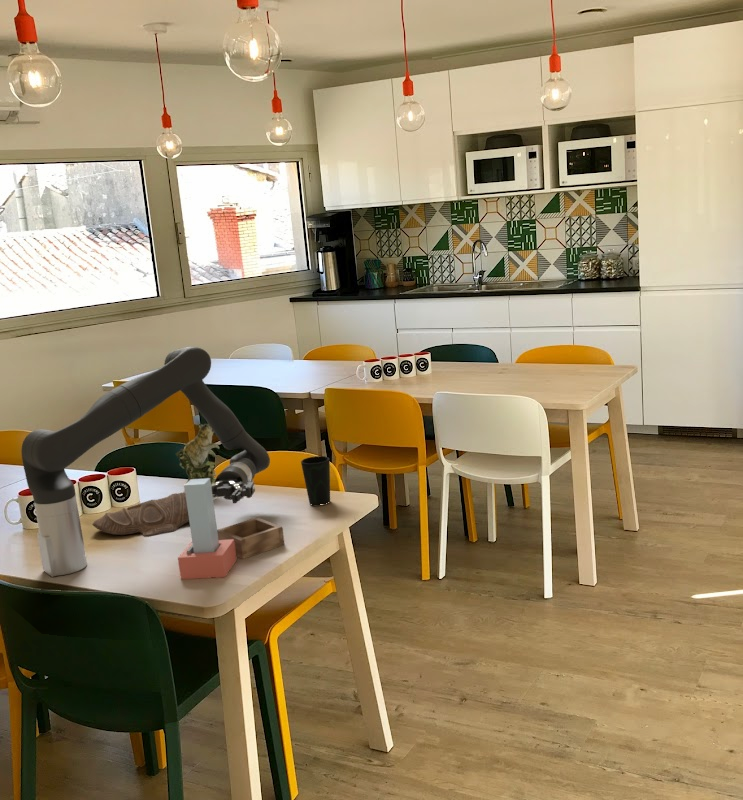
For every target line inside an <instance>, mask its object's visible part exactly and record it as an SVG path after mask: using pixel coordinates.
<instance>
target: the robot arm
mask: <svg viewBox="0 0 743 800" xmlns="http://www.w3.org/2000/svg"><path fill="white" fill-rule="evenodd" d="M211 367H212V358H211V357H210V354H209V353H208V352H207V351H206V350H205V349H204V348H201V347H199V346H197V347H196V346H187V347H181V348H178V349H174V350H172V351H170V352H168V354H167V355H166V356H165V359H164V363H163V366H161V367H160V368H159V367H158V368H157V369H156V370H153V371H150V372H148V373H145V374H142V375H140V376H137V377H135V378H133V379H130V380H128V381H126V382H124V383H121V384H119V385H117V386H115V387H114V388H113V389H111V390H109V391H108V392H106V393H104V394H103V395H102V396H101V397H99V398H98V399H97V400H96V401H95V402H94V404H92V405H91V407H90V408H89V410H88V411H87V412H86V413H85V414H84V415H82V416H81V417H80V418H79V419H78V420H75V421H74V422H72V423H70V424H69V425H67V426H64V427H62V428H60V429H58V430H55V431H54V430H49V429H43V428H41V429H36V430H32V431H31V432H29V433H28V434H27V435H26V436H25V437H24V439H23V441H22V445H21V450H20V451H21V461H22V466H23V470H24V474H25V478H26V479H25V480H26V483H27V487H28V489H29V491H30V493H31V495H32V499H33V504H34V509H35V515H36V521H37V522H36V523H37V526H38V527H37V528H38V531H37V532H36V537H37V543H38V547H39V554H40V559H41V565H42V570H43V572H44V571H45V572H44V573H46V574H47V575H49V576H51V578H52V577H57V576H63V575H70V574H74V573H77V572H79V571H81V570H83V569H84V568H86V567H87V565H88V561H87V554H86V550H85V542H84V537H83V530H82V524H81V519H80V511H79V507H78V501H77V500H78V499H77V494H76V490H75V489H76V488H75V485H74V483H73V481H72V480H71V479H70V478H69V476H68V475H67V473H66V470H65V469H66V468H67V467H69V466H70V465H72V464H73V463H74V462H75V461H77V460H78V459H79V458H81V456H83V455H84V454H85V453H87V452H88V451H89V450H91V449H92V448H94V446H96V445H97V444H99V443H100V442H103V441H105V440H106V439H107V438H109V437H111V436H113V435H114V434H116V433H117V432H119V431H121V430H122V429H124V428H126V427H127V426H129V425H131V424H132V423H134V422H136V421H137V420H138V419H141V417H143V416H144V415H146V414H148V413H149V412H150V411H152V410H153V409H155V408H156V407H157V406H159V405H160V404H162V403H163V402H164V401H166V400H167V399H169V398H170V397H171V396H172V395H174V394H177V393H179V392H182V393H183V394H184V396H185V397H186V398H187V399H188V401H190V403H191V404H192V405H193V406H194V407H195V409H196V410H197V411H198V412H199V413H200V414H201V416H202V417H203V418H204V420H205V421H206V422H207V423H206V424H209V425H210V427H211V428H212V430H213V431H214V432H213V434H214V435H215V436H216V438H218V441H219V442H220V444H221V445H222V446H223V447H224V449H225V450H228V451H231V450H238V449H242V450H243V451H241V452H239V453H236V454H235V455H233V456H232V457H230V459H229V464H228V465H226V466H225V467H224V469H222V471H220V473H219V474H218V475H216V476H215V478H216V480H215V482H214V484H212V485H211V488H212V496H213V501H215V500H217V499H222V498H223V499H225V500H230V501H231V500H232V504H237V503H238V502H240V501H241V500H243V499H244V497H246V498H247V499H250V498H252V497H253V495H254V494H255V492H256V488H255V487H256V486H255V481H254V480H253V479H254V478H255V476H256V475H257V474H259V473H261V472H263V471H264V470H266V469H267V468H269V466H270V463H271V458H270V455H269V453H268V451H267V450H266V449H265V448H264V447H263V445H261V444H260V443H259V442H258V441H257V440H256V439H254V438H253V437H252V436H251V435H250V434H249V433H248V432H247V431H246V430H245V428H244V427H243V425H242V424H241V422H240V421H239V419H238V418H237V416H236V415H235V414H234V412H233V411H232V410H231V408H229V406H227V404H225V403H224V402H223V401H222V400H221V399H219V398H218V397H217V395H215V394H214V393H213V391H211V390H210V388H209V387H208V386H207V385H206V383H205V382H204V381H203V380H204V379H205V378H206V377H207V376H208V374H209V373H210V370H211Z"/></svg>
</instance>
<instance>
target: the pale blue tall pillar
mask: <svg viewBox="0 0 743 800" xmlns="http://www.w3.org/2000/svg"><path fill="white" fill-rule="evenodd" d="M187 481H188V480H187ZM187 481H186V482H187ZM186 482H185V483H186ZM185 483H184V484H185ZM184 484H183V488H184V487H185V494H186V501H187V508H188V515H189V522H188V523H189V527H190V528H189V529H190V535H191V536H190V537H191V542H192V543H193V551H194V553H209V552H216V550H217V549H218V548H219V540H218V533H217V530H218V527H217V519H216V513H215V512H216V511H215V504H214V503H215V502H214V500H213V496H214V495H213V494H212V488H211V481H210V478H205V479H190V480H189V481H188V482H187V483H186V484H185V485H184Z"/></svg>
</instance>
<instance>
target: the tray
mask: <svg viewBox="0 0 743 800" xmlns="http://www.w3.org/2000/svg"><path fill="white" fill-rule="evenodd" d="M217 533H218V540H230V539H234V543H235V550H236V558H237V557H238V558H239V559H241V560H245V559H247V558H250V557H252V556H256V555H259V554H262V553H264V552H268V551H270V550H274V549H277V548H279V547H282V546H285V539H284V529H283V526H281V525H279V524H276V523H274V522H271V521H268V520H266V519H263V518H260V517H258V516H257V517H254V518H251V519H247V520H244V521H241V522H238V523H235V524H231V525H229V526H225V527H223V528H219V529H218V528H217Z"/></svg>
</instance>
